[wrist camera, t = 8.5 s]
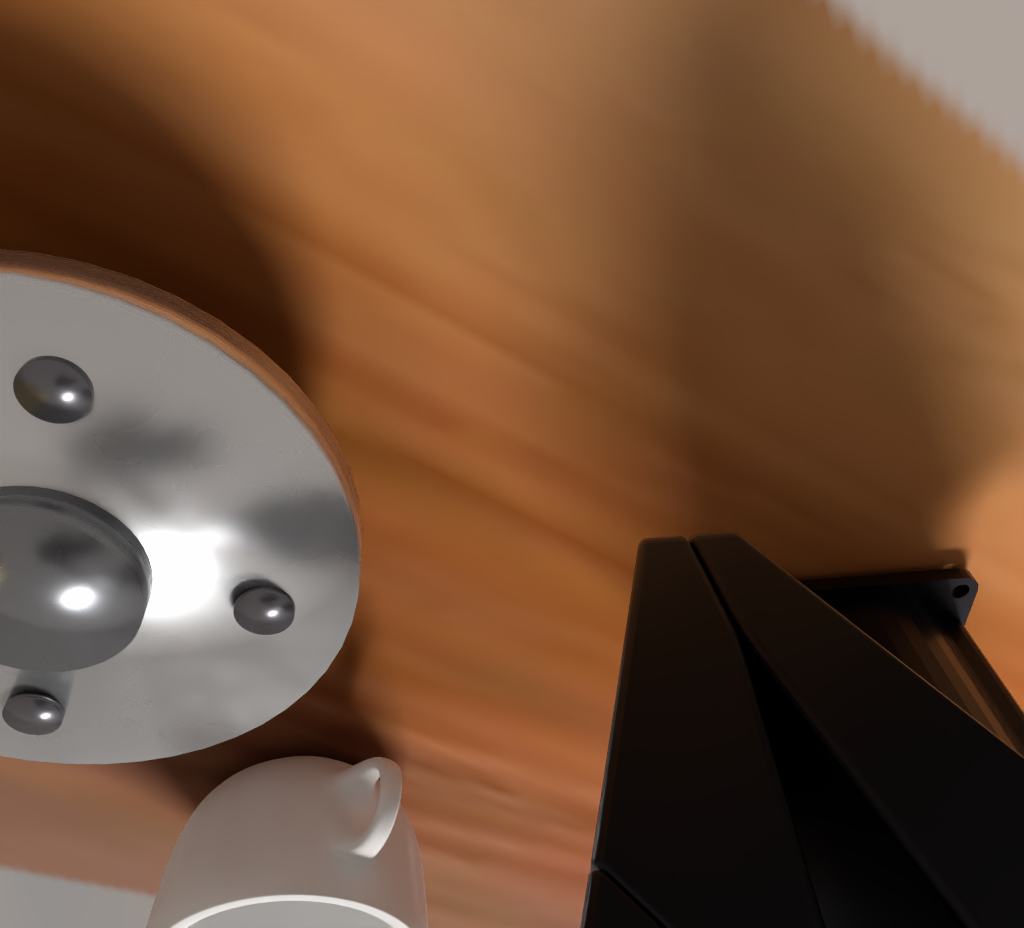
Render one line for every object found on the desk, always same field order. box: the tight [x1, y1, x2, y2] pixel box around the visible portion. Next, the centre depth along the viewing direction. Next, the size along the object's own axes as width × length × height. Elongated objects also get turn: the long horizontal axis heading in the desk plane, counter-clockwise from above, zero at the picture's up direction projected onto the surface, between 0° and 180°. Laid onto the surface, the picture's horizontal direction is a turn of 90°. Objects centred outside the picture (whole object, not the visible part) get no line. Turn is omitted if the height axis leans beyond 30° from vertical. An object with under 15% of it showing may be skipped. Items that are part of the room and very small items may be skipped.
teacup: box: [146, 756, 428, 928], centre depth 26 cm, size 10×8×5 cm
